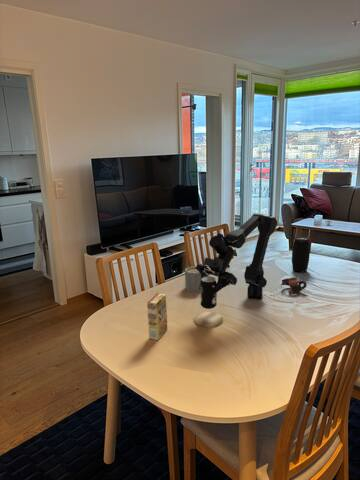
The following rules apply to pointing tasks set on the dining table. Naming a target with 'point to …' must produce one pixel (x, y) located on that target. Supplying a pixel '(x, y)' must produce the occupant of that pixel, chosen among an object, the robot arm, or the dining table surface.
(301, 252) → the portable speaker
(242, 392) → the dining table surface
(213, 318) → the disc
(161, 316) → the candy box
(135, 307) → the dining table surface
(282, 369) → the dining table surface
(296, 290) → the pottery mug
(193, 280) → the coffee mug
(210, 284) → the beverage can
